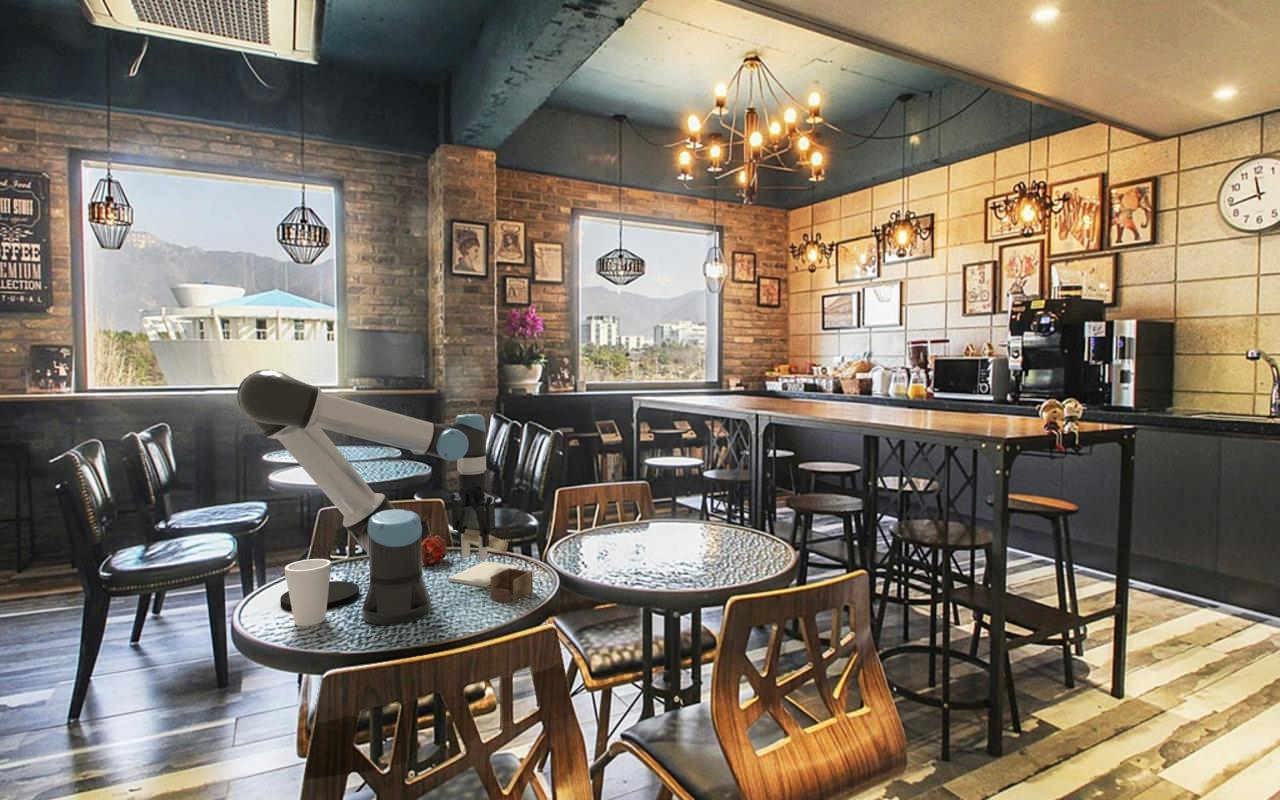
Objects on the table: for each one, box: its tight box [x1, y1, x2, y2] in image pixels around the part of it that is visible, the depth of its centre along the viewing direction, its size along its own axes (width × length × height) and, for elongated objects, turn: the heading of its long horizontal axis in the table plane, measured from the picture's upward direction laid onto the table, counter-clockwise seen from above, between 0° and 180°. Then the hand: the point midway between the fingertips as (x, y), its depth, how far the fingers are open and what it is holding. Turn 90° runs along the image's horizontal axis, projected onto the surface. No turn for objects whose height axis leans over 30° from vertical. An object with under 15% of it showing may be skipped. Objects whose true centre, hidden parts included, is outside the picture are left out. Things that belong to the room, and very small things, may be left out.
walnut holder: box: [490, 568, 534, 604], centre depth 170 cm, size 9×7×6 cm
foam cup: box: [284, 558, 332, 627], centre depth 155 cm, size 10×9×13 cm
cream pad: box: [447, 561, 521, 588], centre depth 187 cm, size 16×12×1 cm
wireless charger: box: [279, 580, 360, 613], centre depth 170 cm, size 18×18×2 cm
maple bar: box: [463, 528, 509, 554], centre depth 187 cm, size 14×5×3 cm, turn 155°
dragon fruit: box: [422, 535, 449, 567], centre depth 199 cm, size 8×8×12 cm
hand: (474, 557), depth 183 cm, fingers closed on maple bar, 5 cm apart
